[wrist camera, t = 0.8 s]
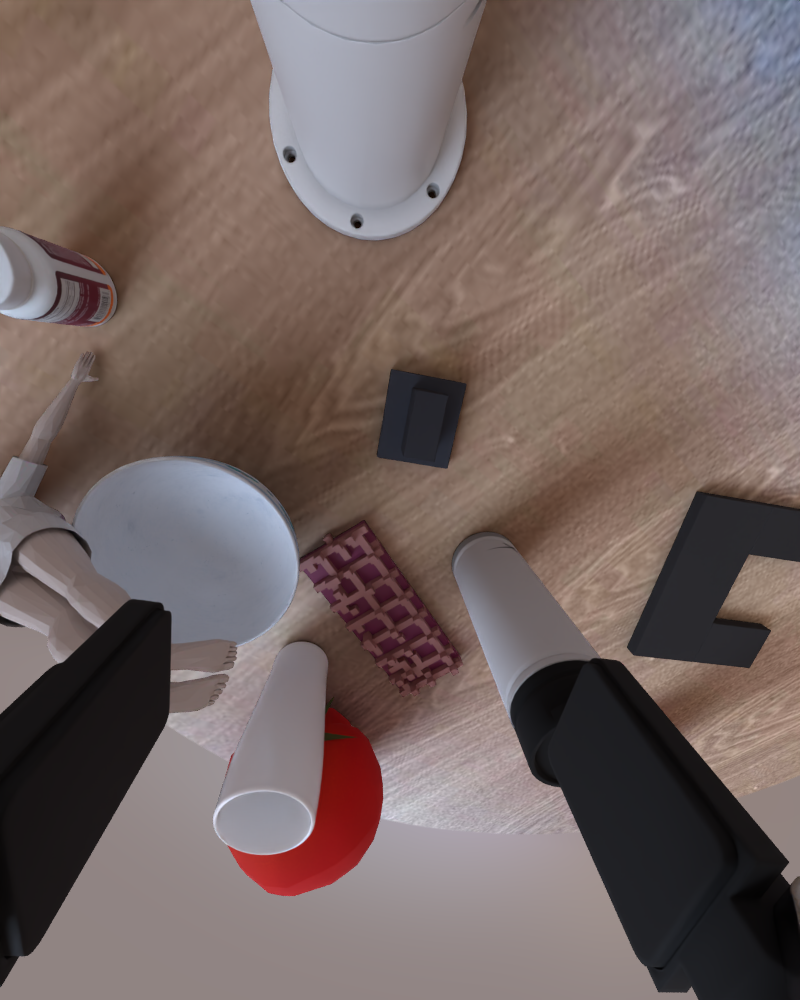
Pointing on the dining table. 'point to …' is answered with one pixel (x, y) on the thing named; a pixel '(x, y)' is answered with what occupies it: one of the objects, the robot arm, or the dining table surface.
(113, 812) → the robot arm
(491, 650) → the travel mug
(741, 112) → the dining table surface
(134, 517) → the chinaware
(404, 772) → the dining table surface
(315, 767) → the drinking glass
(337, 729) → the tomato
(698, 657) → the black u-shaped block
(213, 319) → the dining table surface
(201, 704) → the figurine
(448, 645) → the chocolate bar
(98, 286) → the pill bottle
